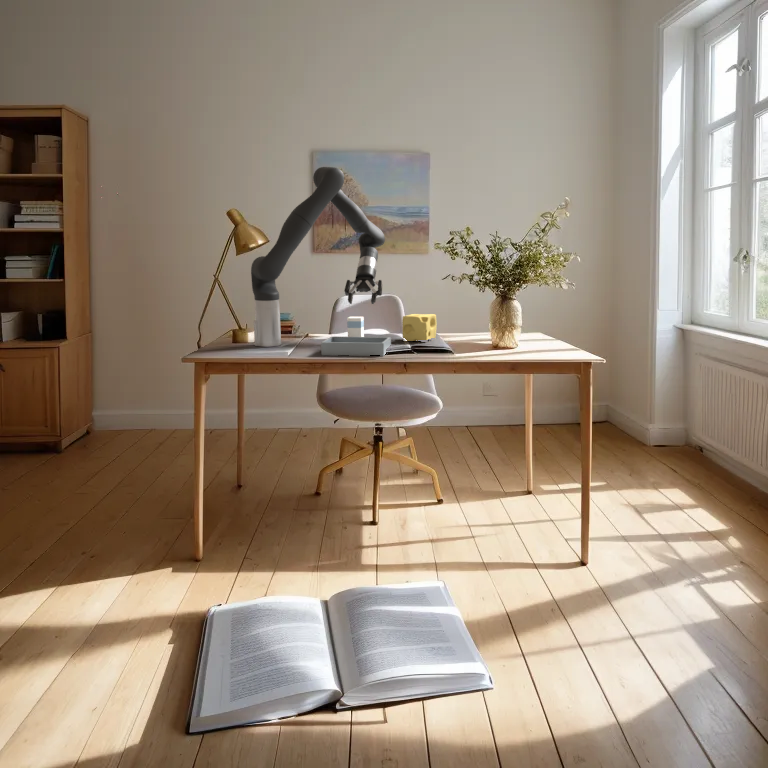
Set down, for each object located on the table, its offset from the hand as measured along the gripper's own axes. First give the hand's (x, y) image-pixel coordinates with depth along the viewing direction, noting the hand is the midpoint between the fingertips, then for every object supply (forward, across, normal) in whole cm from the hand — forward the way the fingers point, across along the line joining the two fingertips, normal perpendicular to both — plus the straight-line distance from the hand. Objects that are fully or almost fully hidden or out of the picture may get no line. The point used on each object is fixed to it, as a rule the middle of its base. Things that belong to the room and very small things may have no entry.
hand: (361, 302), depth 311 cm
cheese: (+6, +21, +16) cm, 27 cm away
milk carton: (+19, 0, +3) cm, 19 cm away
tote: (+28, +3, -6) cm, 29 cm away
